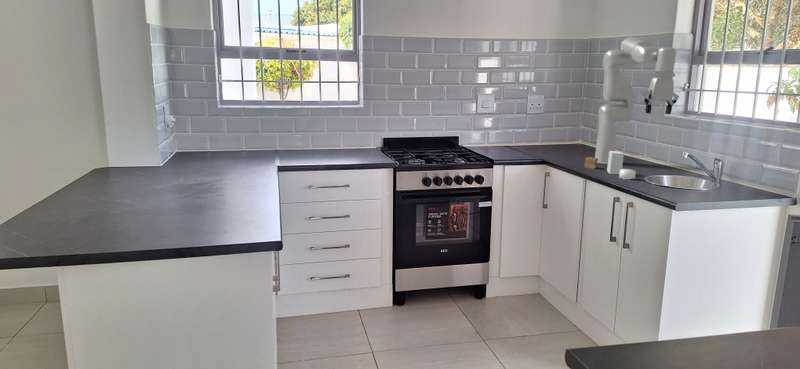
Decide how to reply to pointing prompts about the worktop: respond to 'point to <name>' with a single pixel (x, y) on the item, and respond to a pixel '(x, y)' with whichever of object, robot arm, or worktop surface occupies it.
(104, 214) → the worktop surface
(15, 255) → the worktop surface
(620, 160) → the small box
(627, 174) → the white small lump
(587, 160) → the walnut cube
